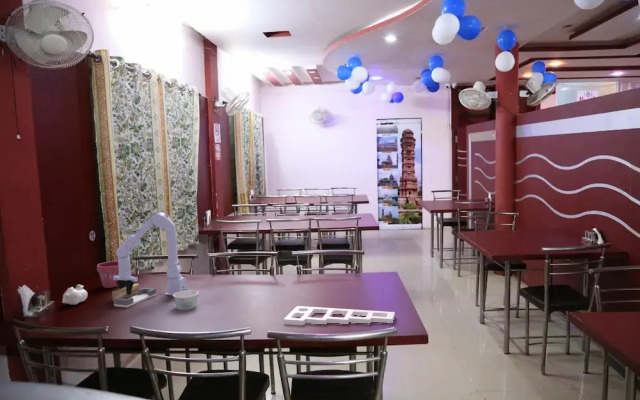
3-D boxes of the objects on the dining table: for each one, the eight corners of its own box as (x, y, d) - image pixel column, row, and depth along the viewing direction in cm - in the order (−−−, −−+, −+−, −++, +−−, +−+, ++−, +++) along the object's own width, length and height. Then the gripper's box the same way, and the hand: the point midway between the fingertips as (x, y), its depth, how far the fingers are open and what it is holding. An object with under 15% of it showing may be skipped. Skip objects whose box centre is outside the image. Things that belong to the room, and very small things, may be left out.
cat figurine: (83, 281, 245) (63, 285, 231) (95, 289, 244) (75, 294, 229) (74, 296, 246) (54, 302, 231) (86, 304, 245) (66, 310, 230)
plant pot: (130, 284, 273) (128, 262, 272) (108, 290, 261) (106, 267, 260) (115, 281, 280) (113, 260, 279) (93, 287, 269) (91, 265, 267)
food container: (176, 312, 220) (175, 298, 219) (171, 305, 230) (170, 292, 230) (202, 308, 225) (201, 294, 225) (196, 301, 236) (195, 288, 235)
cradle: (156, 295, 249) (155, 288, 248) (126, 307, 229) (126, 300, 229) (144, 294, 252) (143, 287, 251) (114, 306, 232) (113, 299, 232)
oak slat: (139, 293, 255) (139, 284, 254) (117, 301, 240) (116, 292, 239) (135, 292, 256) (134, 283, 255) (112, 301, 241) (112, 291, 240)
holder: (394, 318, 205) (394, 312, 205) (389, 333, 188) (389, 326, 188) (297, 311, 218) (297, 305, 217) (283, 325, 200) (283, 319, 200)
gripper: (108, 269, 245) (109, 294, 246) (129, 271, 240) (131, 297, 241) (118, 266, 252) (120, 291, 253) (139, 268, 246) (141, 293, 248)
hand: (126, 293), depth 248 cm, fingers open, 3 cm apart
